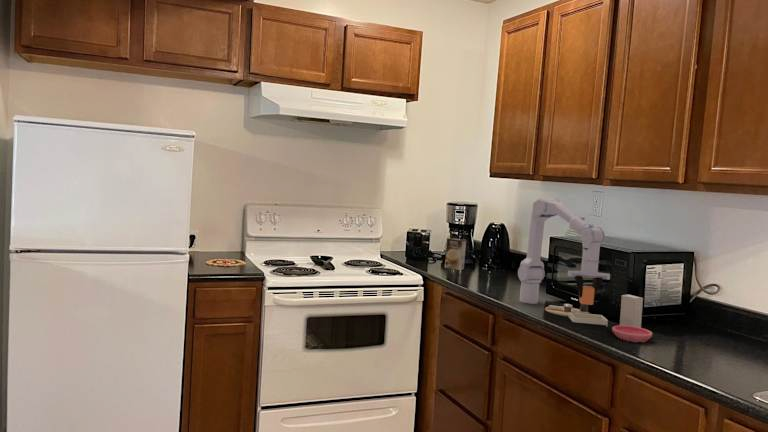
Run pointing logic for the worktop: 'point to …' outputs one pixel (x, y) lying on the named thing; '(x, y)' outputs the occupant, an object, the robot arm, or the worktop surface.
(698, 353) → the worktop surface
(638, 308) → the skincare box
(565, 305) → the dark grey cylinder
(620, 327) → the pink bowl
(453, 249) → the coffee box
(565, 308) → the crank plate
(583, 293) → the block
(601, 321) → the tray
